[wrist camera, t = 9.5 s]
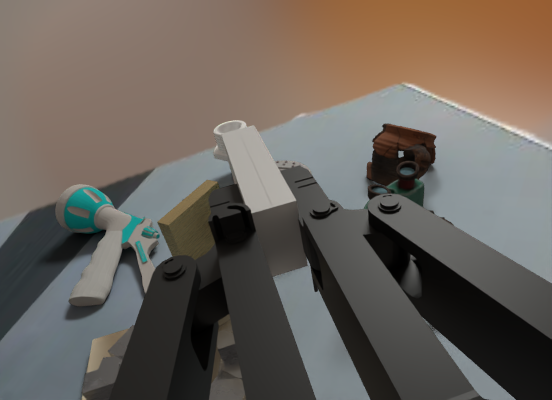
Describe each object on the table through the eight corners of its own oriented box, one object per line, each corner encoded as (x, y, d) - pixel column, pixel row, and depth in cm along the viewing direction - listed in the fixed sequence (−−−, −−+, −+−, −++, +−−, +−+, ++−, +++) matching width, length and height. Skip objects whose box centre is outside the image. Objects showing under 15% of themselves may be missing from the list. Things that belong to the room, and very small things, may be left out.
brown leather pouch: (352, 172, 61) (367, 118, 59) (405, 182, 63) (421, 131, 61) (389, 193, 50) (409, 127, 48) (453, 204, 52) (474, 143, 50)
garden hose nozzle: (140, 280, 43) (179, 169, 58) (-12, 285, 44) (65, 175, 59) (158, 317, 48) (190, 205, 63) (21, 320, 49) (84, 210, 64)
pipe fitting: (216, 170, 68) (202, 128, 63) (254, 156, 69) (244, 114, 65) (226, 187, 63) (213, 141, 58) (267, 171, 64) (257, 126, 60)
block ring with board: (186, 512, 26) (95, 401, 19) (66, 417, 34) (-36, 308, 26) (307, 314, 38) (282, 194, 30) (198, 275, 45) (155, 170, 37)
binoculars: (439, 238, 31) (344, 187, 38) (423, 316, 38) (344, 262, 44) (496, 186, 35) (401, 148, 42) (473, 265, 42) (394, 221, 48)
